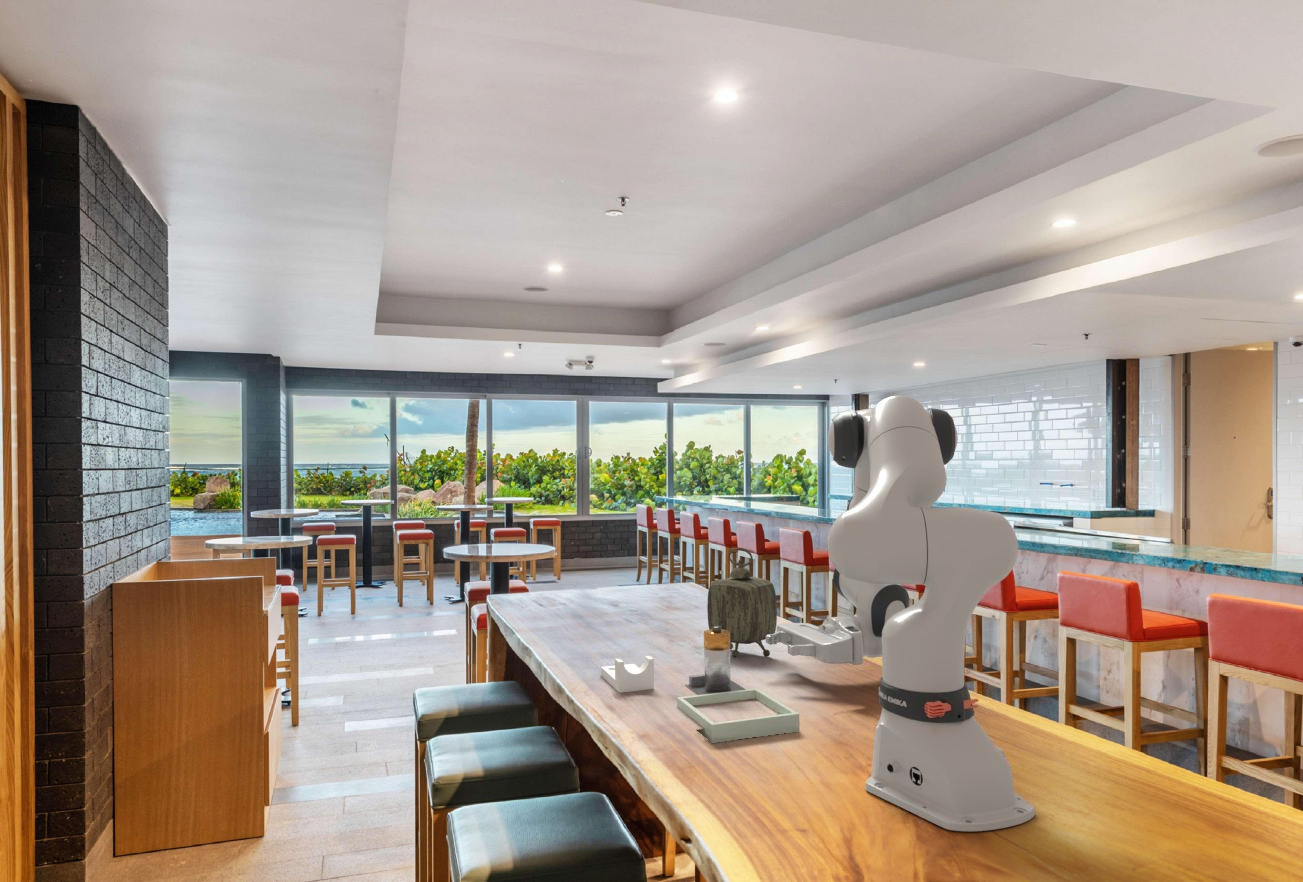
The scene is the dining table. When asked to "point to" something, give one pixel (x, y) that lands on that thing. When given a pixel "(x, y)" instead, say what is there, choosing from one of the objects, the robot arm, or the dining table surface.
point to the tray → (743, 727)
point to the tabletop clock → (743, 606)
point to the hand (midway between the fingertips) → (777, 645)
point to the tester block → (699, 685)
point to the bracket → (630, 675)
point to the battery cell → (717, 660)
